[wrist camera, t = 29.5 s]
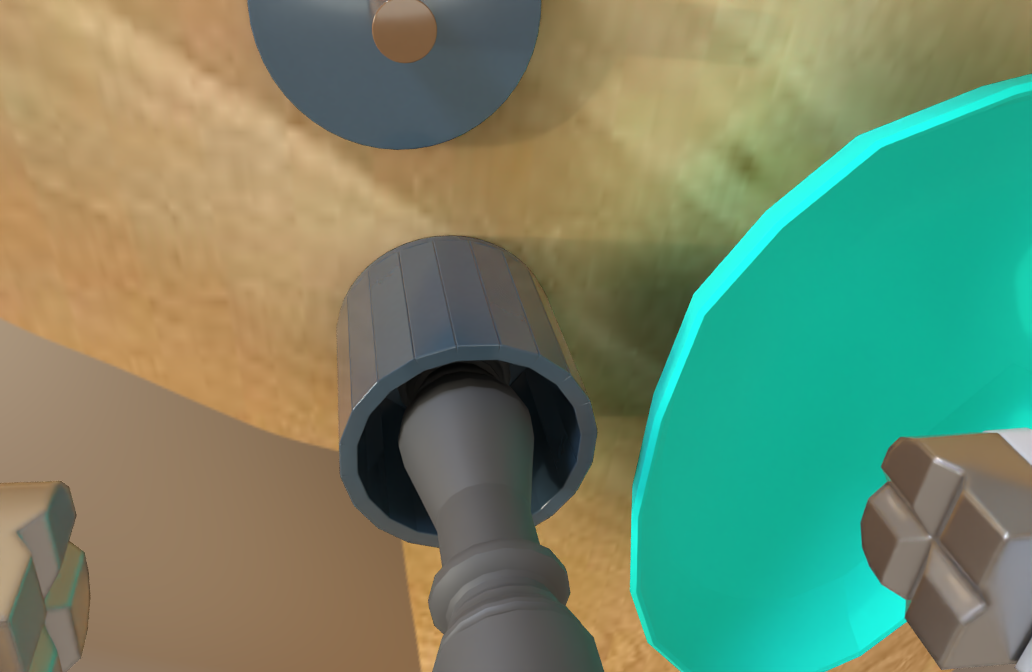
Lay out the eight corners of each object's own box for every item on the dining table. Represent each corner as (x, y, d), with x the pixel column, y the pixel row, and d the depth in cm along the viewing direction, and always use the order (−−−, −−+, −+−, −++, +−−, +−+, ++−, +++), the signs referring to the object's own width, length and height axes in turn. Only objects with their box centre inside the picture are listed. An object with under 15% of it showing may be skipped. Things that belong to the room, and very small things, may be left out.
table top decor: (1027, -177, 41) (1289, -158, 30) (1239, 182, 54) (1477, 290, 43) (456, 406, 52) (491, 578, 41) (745, 586, 65) (831, 753, 54)
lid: (259, 139, 42) (252, 178, 38) (237, -170, 35) (226, -162, 31) (524, 143, 44) (543, 180, 40) (549, -146, 38) (575, -135, 34)
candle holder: (519, 299, 48) (665, 701, 28) (472, 389, 51) (574, 819, 30) (411, 264, 46) (482, 672, 25) (368, 360, 49) (401, 802, 28)
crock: (338, 420, 51) (341, 556, 42) (334, 235, 45) (336, 348, 36) (538, 412, 53) (580, 540, 45) (559, 234, 47) (612, 341, 39)
